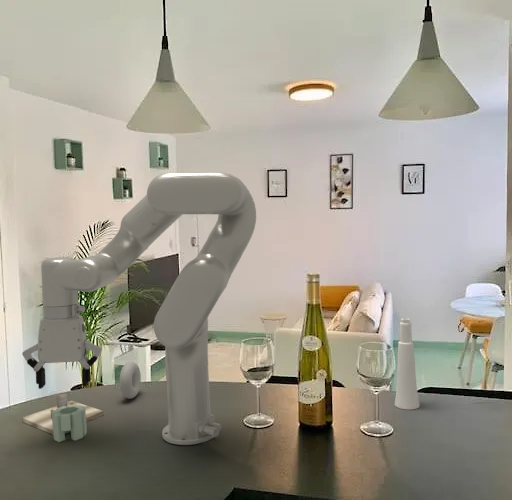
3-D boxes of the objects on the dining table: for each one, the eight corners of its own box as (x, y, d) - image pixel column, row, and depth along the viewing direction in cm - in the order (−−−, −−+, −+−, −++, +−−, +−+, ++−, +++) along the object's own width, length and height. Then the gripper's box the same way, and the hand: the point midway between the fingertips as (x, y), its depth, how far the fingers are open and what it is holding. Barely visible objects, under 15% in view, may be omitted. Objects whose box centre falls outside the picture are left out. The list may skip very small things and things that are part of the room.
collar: (88, 428, 127) (87, 403, 126) (82, 440, 120) (81, 414, 120) (58, 430, 126) (56, 406, 126) (50, 443, 119) (48, 417, 119)
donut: (131, 391, 152) (129, 357, 151) (143, 391, 152) (141, 357, 151) (118, 404, 142) (116, 367, 141) (130, 404, 142) (128, 367, 141)
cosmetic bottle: (424, 405, 133) (422, 318, 131) (411, 412, 129) (409, 322, 127) (403, 399, 137) (401, 315, 136) (389, 405, 133) (387, 319, 132)
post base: (103, 414, 135) (102, 391, 134) (52, 434, 124) (51, 409, 124) (71, 404, 144) (70, 382, 143) (22, 421, 133) (20, 398, 132)
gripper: (102, 307, 126) (105, 378, 127) (26, 310, 124) (29, 382, 125) (97, 313, 118) (99, 389, 120) (15, 316, 116) (19, 393, 117)
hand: (63, 385), depth 122 cm, fingers open, 9 cm apart
